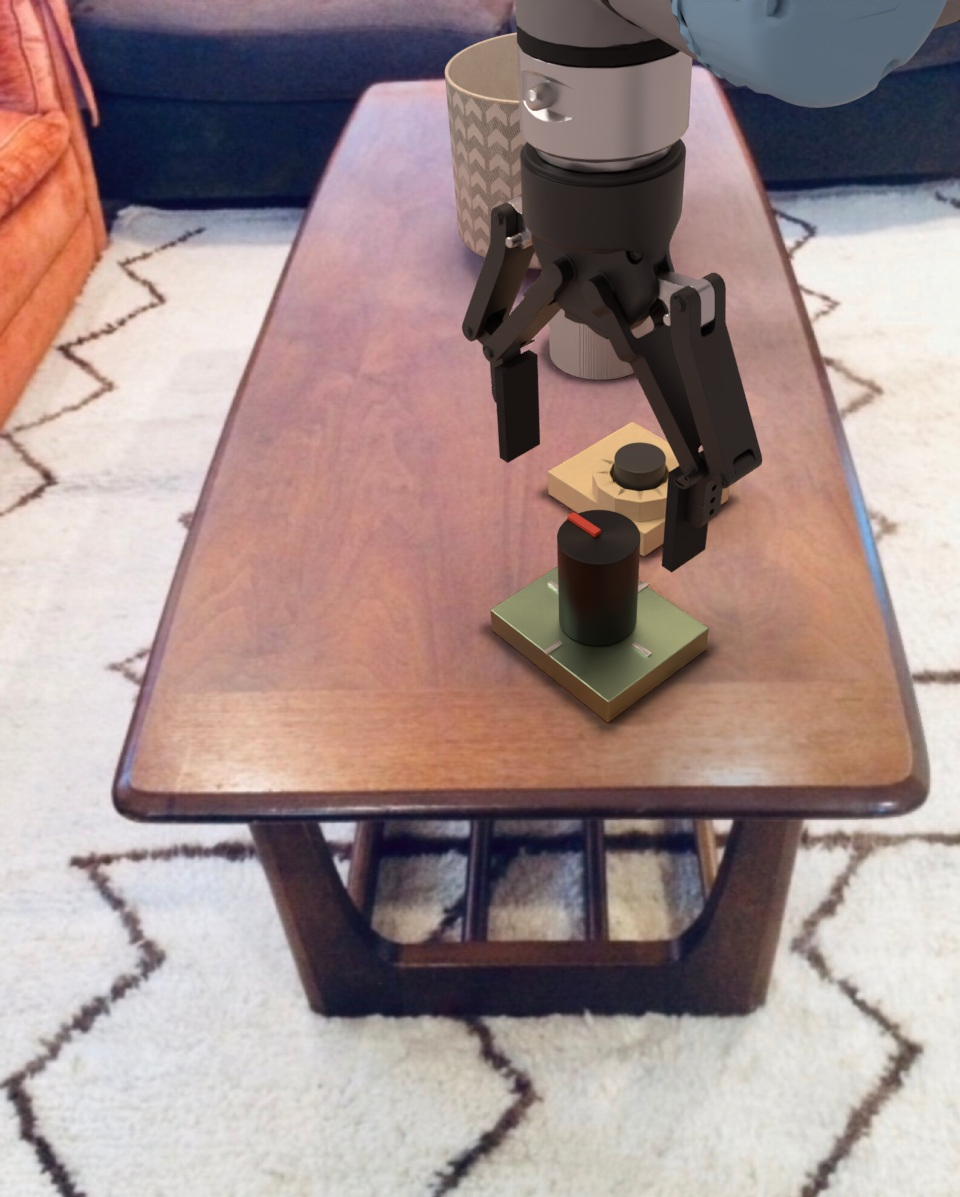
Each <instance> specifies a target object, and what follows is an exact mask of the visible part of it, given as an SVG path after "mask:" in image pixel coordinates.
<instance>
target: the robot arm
mask: <svg viewBox="0 0 960 1197" xmlns="http://www.w3.org/2000/svg"><path fill="white" fill-rule="evenodd" d="M514 6H515V19H516V20H515V21H516V22H515V25H516V33H517V53H518V84H519V115H520V131H521V135H522V136H523V137H524V139H525V140H526V141H527V142H526V143H525V145H524V146H523V147H522V150H521V153H520V165H521V192H522V195H521V196H519V197H516V198H514V199H512V200H510V201H507V202H505V203H503V204H501V205H499V206H496V207H494V208H493V209H492V211H491V236H490V245H489V248H488V251H487V254H486V257H485V258H484V260H483V263H482V266H481V269H480V272H479V275H478V277H477V280H476V283H475V286H474V290H473V293H472V295H471V298H470V301H469V303H468V307H467V310H466V312H465V315H464V318H463V321H462V324H461V331H462V333H463V336H464V337H465V339H466V340H467V341H469V342H475V341H476V340H477V341H478V342H479V343H480V344H481V345H482V354H483V356H484V358H485V359H486V360H487V361H488V362H489V370H490V379H491V380H490V384H491V386H490V387H491V395H492V398H493V401H494V402H493V403H496V417H497V418H496V419H497V420H496V421H497V434H498V435H497V436H498V452H499V458H500V460H503V461H504V462H505V463H506V464H508V463H510V462H512V461H514V460H516V459H517V458H519V457H521V456H523V455H525V454H526V453H528V452H529V451H531V450H533V449H535V448H537V447H538V446H540V445H541V429H540V428H541V427H540V424H541V423H540V422H541V421H540V393H539V392H540V391H539V360H538V358H539V357H538V353H535V352H534V351H532V350H530V349H527V350H526V351H524V352H522V348H525V347H526V346H528V345H530V344H532V343H534V342H535V341H536V340H535V339H534V338H535V337H536V336H537V335H538V334H539V333H540V332H541V331H542V330H543V328H544V327H546V326H547V325H548V324H549V321H550V320H551V319H552V318H553V317H554V316H555V315H556V314H557V313H558V312H559V311H560V310H561V309H563V310H564V311H565V318H567V319H569V320H571V321H573V322H575V323H580V324H585V325H587V326H588V327H589V328H590V329H591V330H593V331H594V332H595V333H596V334H598V335H599V336H601V337H603V338H605V339H607V340H608V339H609V341H610V343H611V345H612V347H613V349H614V351H615V353H616V355H617V357H618V358H619V359H620V360H621V361H623V362H627V363H629V364H630V365H631V367H632V369H633V371H634V373H633V374H634V376H635V377H636V380H637V381H638V383H639V385H640V388H641V390H642V391H643V394H644V396H645V398H646V400H647V402H648V404H649V406H650V408H651V410H652V412H653V414H654V416H655V419H656V420H657V423H658V425H659V426H660V429H661V431H662V433H663V435H664V437H665V439H666V441H667V442H668V443H669V445H670V447H671V449H672V451H673V453H674V455H675V457H676V459H677V462H678V464H679V466H678V467H676V468H675V469H673V470H671V471H670V472H669V473H668V486H667V500H666V514H665V527H664V541H663V544H662V556H661V567H663V568H664V569H665V570H667V571H668V572H670V573H673V572H675V571H677V570H678V569H679V568H681V567H682V566H684V565H685V564H687V563H688V562H689V561H691V560H692V559H694V558H695V557H697V556H698V555H699V554H701V553H702V552H704V551H706V548H707V538H708V530H709V522H710V521H712V520H713V519H715V518H716V517H717V516H718V515H719V513H720V512H721V508H722V505H721V499H722V497H721V496H722V490H723V489H725V488H728V487H729V486H730V487H731V486H732V485H734V484H735V483H737V482H738V481H740V480H741V479H743V478H745V477H746V476H747V475H749V474H751V472H753V471H755V470H756V469H758V468H759V467H760V466H762V464H763V455H762V452H761V448H760V444H759V440H758V437H757V433H756V429H755V426H754V422H753V418H752V415H751V410H750V407H749V404H748V400H747V396H746V393H745V389H744V385H743V381H742V378H741V377H742V376H741V373H740V370H739V366H738V362H737V359H736V356H735V352H734V348H733V344H732V341H731V337H730V332H729V329H728V327H727V323H726V322H727V320H726V319H727V318H726V317H727V316H726V315H727V314H726V312H727V310H726V308H727V305H726V304H727V287H726V282H725V280H724V278H723V277H722V275H720V274H718V273H717V272H710V273H708V274H707V275H704V276H703V277H701V278H698V279H697V278H694V277H690V276H686V275H685V274H681V273H678V272H676V271H675V270H676V269H675V266H674V264H673V261H672V257H671V250H670V245H671V242H672V238H673V236H674V233H675V231H676V229H677V227H678V224H679V222H680V219H681V216H682V212H683V202H684V201H683V199H684V189H685V188H684V186H685V171H686V159H687V158H686V156H687V148H686V145H685V143H684V141H683V140H682V139H681V138H682V137H683V136H684V135H686V133H687V130H688V129H689V126H690V110H691V92H692V90H691V89H692V73H693V72H692V71H693V60H695V61H697V62H698V63H700V64H701V65H702V66H703V67H704V68H706V69H708V70H709V71H711V72H712V73H713V75H714V76H715V77H717V78H719V79H725V80H726V81H727V82H728V83H730V84H732V85H733V86H735V87H737V88H738V87H747V88H748V89H750V90H751V91H753V92H754V93H756V94H763V95H770V96H772V97H774V98H776V99H778V100H781V101H783V102H786V103H788V104H792V105H794V106H799V107H804V108H817V109H819V108H820V109H821V108H832V107H835V106H836V107H837V106H841V105H845V104H848V103H852V102H854V101H856V100H858V99H861V98H863V97H864V96H866V95H868V94H870V93H871V92H872V91H874V90H875V89H876V88H878V85H879V82H881V80H883V79H884V78H885V77H886V76H888V75H889V74H890V73H891V72H892V71H894V70H895V69H897V68H899V67H903V66H905V65H906V64H907V63H908V62H909V61H910V60H911V59H912V58H913V57H914V56H915V55H916V53H917V52H919V50H920V48H921V47H922V46H923V45H924V44H925V42H926V41H927V39H928V37H929V36H930V34H931V32H932V31H933V30H934V29H937V28H941V27H944V26H947V25H951V24H952V25H953V24H957V23H960V0H514ZM534 252H535V253H536V255H537V257H538V260H539V262H540V264H541V266H542V269H543V270H540V272H539V273H540V275H538V277H537V278H536V279H535V281H533V283H532V284H531V285H530V286H529V287H528V288H527V289H526V291H525V292H524V293H523V297H524V298H522V299H521V301H520V302H519V303H518V305H517V306H516V307H515V308H514V309H513V307H514V304H515V301H516V299H517V298H518V294H519V292H520V289H521V287H522V284H523V281H524V280H525V277H526V275H527V272H528V270H529V269H528V267H529V264H530V262H531V259H532V257H533V254H534ZM512 309H513V310H512ZM649 316H650V317H651V319H652V321H653V324H654V328H653V330H652V331H650V332H649V333H647V334H645V335H643V336H641V337H639V338H636V337H635V336H634V335H633V333H632V331H631V330H633V329H635V328H637V327H639V326H640V325H641V324H643V323H644V321H645V320H646V319H647V318H648V317H649ZM700 447H701V448H702V450H701V451H700ZM730 487H729V488H730Z"/></svg>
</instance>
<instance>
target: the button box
mask: <svg viewBox="0 0 960 1197" xmlns="http://www.w3.org/2000/svg"><path fill="white" fill-rule="evenodd" d="M638 442H642V443H649V444H653V445H655V446H657V447H659V448H660V449H661V450H662V451H663V452H664V454H665V456H666V465H665V478H664V481H663V483H662V484H661V485H660V486H659V487H657V488H656V489H652V490H646V491H634V490H628V489H624V488H622V487H621V486H619V485H618V484H617V483H616V481H615V479H614V457H615V454H616V452H617V451H618V450H619V449H620V448H621V447H623V446H625V445H627V444H631V443H638ZM678 466H679V464H678V462H677V459H676V457H675V455H674V453H673V451H672V449H671V447H670V445H669V443H668V441H667V440H665V439H664V438H662V437H660V436H659V435H657V434H655V433H653V432H651V431H649V430H648V429H646V428H644V427H642V426H641V425H639V424H638V423H636V422H633V421H631V422H629V423H627V424H626V425H624V426H623V427H622V426H621V427H620V428H618V429H617V430H616V431H614V432H612V433H610V434H608V435H607V436H605V437H603V438H602V439H600V440H598V441H597V442H595V443H593V444H592V445H590V446H589V447H586V448H585V449H583V450H582V451H580V452H578V453H577V454H575V455H573V456H571V457H570V458H568V459H566V460H565V461H563V462H561V463H560V464H558V465H556V466H555V467H553V468H551V469H550V470H548V471H547V485H548V487H547V488H548V491H547V492H548V495H549V496H551V497H552V498H554V499H556V500H557V501H558V502H560V503H561V504H563V505H565V506H566V507H568V508H569V509H571V510H572V511H573V512H575V513H576V514H578V513H581V512H584V511H589V510H608V511H613V512H617V513H620V514H622V515H624V516H626V517H628V518H629V519H631V520H632V521H633V522H634V523H635V524H636V526H637V527H638V529H639V532H640V556H642V557H645V556H647V555H648V554H650V553H652V552H653V551H654V550H656V549H657V548H659V547H660V546H663V541H664V527H665V514H666V500H667V486H668V473H669V472H670V471H671V470H673V469H675V468H676V467H678ZM730 487H731V486H729V487H728V488H725V489H723V490H722V496H721V497H722V499H721V506H722V505H723V504H725V503H726V502H727V501H729V495H730V494H729V493H730Z"/></svg>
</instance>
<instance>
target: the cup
mask: <svg viewBox="0 0 960 1197" xmlns="http://www.w3.org/2000/svg"><path fill="white" fill-rule="evenodd" d="M653 328H654V324H653V321H652V319H651V317H650V316H649V317H648V318H647V319H646V320H645V321H644V323H643V324H641V325H640V326H639V327H637V328H635V329H633V330H631V331H632V333H633V335H634V336H635V337H636V338H639V337H641V336H643V335H645V334H647V333H649V332H650V331H652V330H653ZM548 334H549V335H548V337H549V338H548V340H549V356H550V359H551V362H552V363H553V364H554V365H555V367H557V368H558V369H559V370H561V371H562V372H564V373H566V374H568V375H570V376H573V377H577V378H581V379H584V380H585V379H587V380H596V381H601V380H602V381H603V380H604V381H605V380H615V379H620V378H624V377H628V376H631V375H634V374H635V373H634V371H633V369H632V367H631V365H630V364H629V363H627V362H623V361H621V360H620V359H619V358H618V357H617V355H616V353H615V351H614V349H613V347H612V345H611V343H610V341H609V339H608V340H607V339H605V338H603V337H601V336H599V335H598V334H596V333H595V332H594V331H593V330H591V329H590V328H589V327H588V326H587V325H585V324H580V323H575V322H573V321H571V320H569V319H567V318H565V311H564V310H563V309H561V310H560V311H559V312H558V313H557V314H556V315H555V316H554V317H553V318H552V319H551V320H550V321H549V322H548Z"/></svg>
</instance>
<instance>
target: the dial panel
mask: <svg viewBox="0 0 960 1197" xmlns="http://www.w3.org/2000/svg"><path fill="white" fill-rule="evenodd" d="M490 622H491V630H492V631H493V633H495V634H496V635H497V636H499V637H500V638H501V639H502V640H504V641H505V642H506V643H508V644H509V645H510V646H511V647H513V648H514V649H515V650H516V651H518V653H520V654H521V655H523V656H524V657H525V658H526V659H527V660H529V661H530V662H531V663H533V664H534V665H535V666H536V667H537V668H539V669H540V670H541V671H542V672H544V673H545V674H546V675H548V676H549V677H550V678H551V679H552V680H554V681H555V682H556V683H558V685H560V686H561V687H562V688H564V689H565V690H566V691H568V692H569V693H570V694H571V695H573V696H574V697H575V698H576V699H578V701H580V702H581V703H582V704H584V705H585V706H586V707H587V708H589V709H590V710H591V711H592V712H594V713H595V714H596V715H597V716H599V717H600V718H601V719H603V720H604V721H605V722H606V723H611V721H612V720H614V719H615V718H617V717H618V716H619V715H620V714H622V713H623V712H624V711H626V710H627V709H628V708H630V707H631V706H633V705H634V704H635V703H637V701H640V700H641V699H642V698H643V697H644V696H646V695H647V694H649V693H650V692H652V691H653V690H654V689H655V688H656V687H658V686H660V685H661V684H662V683H663V682H664V681H666V680H667V679H668V678H670V677H672V676H673V675H674V674H675V673H677V672H678V671H679V670H681V669H682V668H684V667H685V666H686V665H688V664H689V663H690V662H691V661H693V660H694V659H696V658H697V657H698V656H699V655H701V654H702V653H703V652H705V651H706V650H707V648H708V640H709V631H710V628H709V627H708V626H707V625H706V624H704V623H703V622H700V620H698V619H696V618H695V617H694V616H692V615H690V614H689V613H688V612H686V611H685V610H683V609H681V608H680V607H679V606H678V605H676V604H674V603H673V602H672V601H670V600H668V599H667V598H665V597H664V596H663V595H661V594H659V593H658V592H656V591H655V590H654V589H652V588H651V587H650V583H649V582H647V581H644V582H641V581H640V580H638V602H637V621H636V625H635V627H634V629H633V631H632V632H631V633H630V634H629V635H628V636H627V637H626V638H624V639H622V640H621V641H619V642H616V643H613V644H609V645H602V646H595V645H587V644H583V643H580V642H578V641H576V640H574V639H572V638H571V637H569V636H568V635H567V634H566V633H565V632H564V631H563V629H562V627H561V625H560V622H559V597H558V565H557V566H555V567H554V568H552V569H551V570H549V571H548V572H546V573H544V574H542V576H540V577H538V578H537V579H535V580H533V581H532V582H531V583H529V584H528V585H526V586H524V587H523V588H521V589H520V590H518V591H517V592H515V593H514V594H512V595H511V596H509V597H507V598H506V599H504V600H503V601H501V602H499V603H498V604H496V605H495V606H493V607H492V608H491V609H490Z"/></svg>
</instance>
